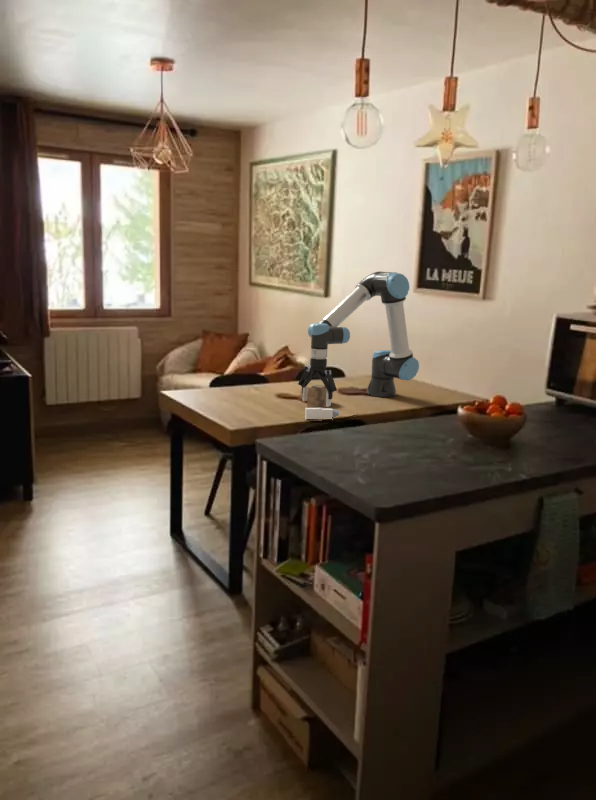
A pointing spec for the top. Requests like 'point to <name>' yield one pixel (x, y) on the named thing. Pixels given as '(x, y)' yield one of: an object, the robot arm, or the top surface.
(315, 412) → the napkin holder
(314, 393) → the walnut slab
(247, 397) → the top surface
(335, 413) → the felt mat
